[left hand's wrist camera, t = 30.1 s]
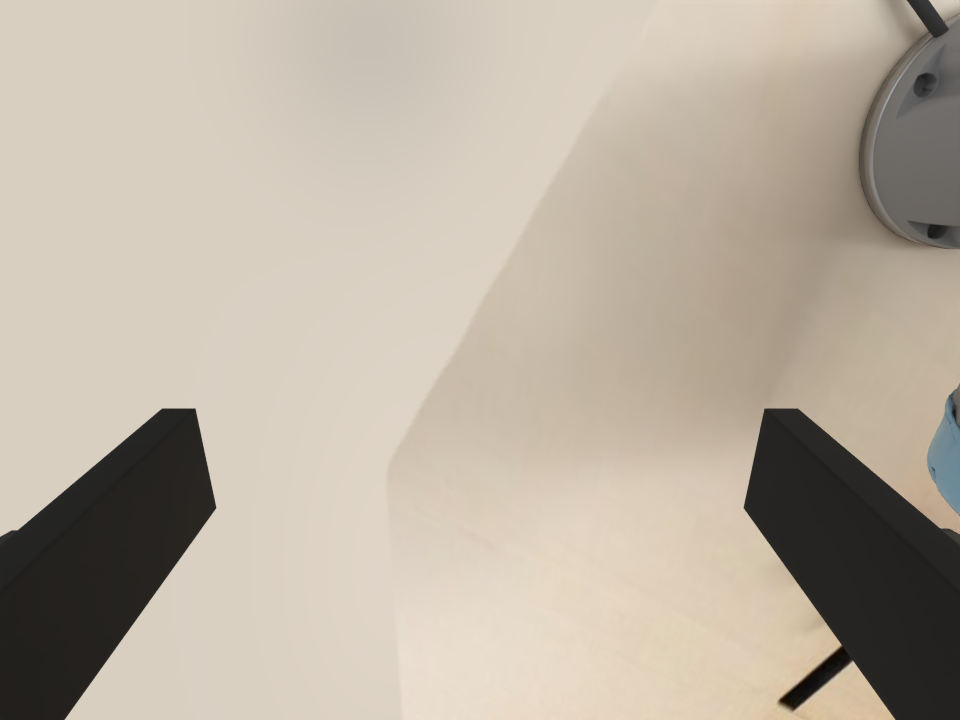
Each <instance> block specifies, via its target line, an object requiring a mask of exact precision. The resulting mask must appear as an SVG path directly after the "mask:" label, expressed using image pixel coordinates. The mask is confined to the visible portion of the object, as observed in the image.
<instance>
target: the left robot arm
mask: <svg viewBox="0 0 960 720" xmlns="http://www.w3.org/2000/svg"><path fill="white" fill-rule="evenodd" d="M907 1H908V2H909V4H910V5H911V6H912V8H913V9H914V11H915V12H916V13H917V15H918V16H919V18H920V19H921V20H922V22H923V23H924V25H925V26H926V27H927V29H928V30H929V33H928V34H927V35H925V36H924V37H923V38H922V39H920V40H919V41H918V42H917V43H916V44H915V45H914V46H913V47H912V48H911V49H910V50H909V51H908V52H907V53H906V54H905V55H904V56H903V57H902V58H901V60H900V61H899V62H898V63H897V65H896V66H895V67H894V68H893V70H892V71H891V73H890V74H889V75H888V77H887V78H886V80H885V81H884V83H883V85H882V86H881V88H880V90H879V92H878V93H877V95H876V98H875V100H874V102H873V104H872V106H871V108H870V111H869V114H868V116H867V119H866V123H865V126H864V129H863V134H862V139H861V145H860V159H859V166H860V177H861V182H862V187H863V190H864V193H865V196H866V198H867V201H868V203H869V205H870V207H871V208H872V210H873V212H874V213H875V215H876V216H877V217H878V218H879V220H880V221H881V222H882V223H883V224H884V225H885V226H886V227H888V228H889V229H890V230H892V231H893V232H894V233H896V234H898V235H899V236H901V237H903V238H906V239H908V240H910V241H914V242H917V243H920V244H925V245H929V246H933V247H939V248H946V249H960V14H957V15H955V16H954V17H952V18H950V19H948V20H947V21H945V22H944V21H943V20H942V18H941V17H940V16H939V14H938V13H937V11H936V10H935V8H934V7H933V6H932V4H931V3H930V1H929V0H907ZM927 464H928V469H929V472H930V474H931V477H932V479H933V481H934V482H935V483H936V485H937V488H938V491H939V492H940V494H941V495H942V496H943V498H944V499H945V500H946V502H947V503H948V504H949V505H950V506H951V507H952V508H953V509H954V511H955V512H956V513H957V514H958V515H959V516H960V384H959V386H958V388H957V389H955V390H954V391H953V392H952V393H951V395H949V397H948V399H947V400H946V404H945V414H944V417H943V419H942V421H941V423H940V426H939V428H938V430H937V432H936V434H935V436H934V438H933V440H932V442H931V444H930V447H929V450H928V455H927ZM215 509H216V504H215V499H214V495H213V490H212V485H211V480H210V476H209V471H208V466H207V461H206V457H205V452H204V447H203V443H202V438H201V433H200V428H199V423H198V419H197V414H196V409H161V410H160V411H159V412H158V413H156V414H155V415H154V416H153V417H152V418H150V419H149V420H148V421H147V422H146V423H145V424H143V425H142V426H141V427H140V428H139V429H137V430H136V431H135V432H134V433H133V434H132V435H130V436H129V437H128V438H127V439H126V440H124V441H123V442H122V443H121V444H120V445H118V446H117V447H116V448H115V449H114V450H113V451H111V452H110V453H109V454H108V455H107V456H105V457H104V458H103V459H102V460H101V461H99V462H98V463H97V464H96V465H95V466H94V467H92V468H91V469H90V470H89V471H88V472H86V473H85V474H84V475H83V476H82V477H81V478H79V479H78V480H77V481H76V482H75V483H73V484H72V485H71V486H70V487H69V488H68V489H66V490H65V491H64V492H63V493H62V494H60V495H59V496H58V497H57V498H56V499H54V500H53V501H52V502H51V503H50V504H49V505H47V506H46V507H45V508H44V509H43V510H41V511H40V512H39V513H38V514H37V515H35V516H34V517H33V518H32V519H31V520H30V521H28V522H27V523H26V524H25V525H24V526H22V527H21V528H20V529H19V530H15V531H14V530H12V531H10V532H8V533H6V534H5V535H3V536H1V537H0V720H65V718H66V717H67V715H68V714H69V713H70V711H71V710H72V708H73V707H74V706H75V704H76V703H77V702H78V700H79V699H80V697H81V696H82V695H83V693H84V692H85V690H86V689H87V688H88V686H89V685H90V683H91V682H92V681H93V679H94V678H95V676H96V675H97V674H98V672H99V671H100V669H101V668H102V667H103V665H104V664H105V662H106V661H107V660H108V658H109V657H110V655H111V654H112V653H113V651H114V650H115V648H116V647H117V646H118V644H119V643H120V642H121V640H122V639H123V637H124V636H125V635H126V633H127V632H128V630H129V629H130V628H131V626H132V625H133V623H134V622H135V621H136V619H137V618H138V616H139V615H140V614H141V612H142V611H143V610H144V608H145V607H146V605H147V604H148V603H149V601H150V600H151V598H152V597H153V596H154V594H155V593H156V591H157V590H158V589H159V587H160V586H161V584H162V583H163V582H164V580H165V579H166V577H167V576H168V575H169V573H170V572H171V570H172V569H173V568H174V566H175V565H176V564H177V562H178V561H179V559H180V558H181V557H182V555H183V554H184V552H185V551H186V550H187V548H188V547H189V545H190V544H191V543H192V541H193V540H194V538H195V537H196V536H197V534H198V533H199V531H200V530H201V529H202V527H203V526H204V524H205V523H206V522H207V520H208V519H209V518H210V516H211V515H212V513H213V512H214V511H215ZM744 509H745V511H746V512H747V513H748V515H749V516H750V518H751V519H752V520H753V522H754V523H755V524H756V526H757V527H758V529H759V530H760V531H761V533H762V534H763V536H764V537H765V538H766V540H767V541H768V543H769V544H770V545H771V547H772V548H773V550H774V551H775V552H776V554H777V555H778V557H779V558H780V559H781V561H782V562H783V564H784V565H785V566H786V568H787V569H788V570H789V572H790V573H791V575H792V576H793V577H794V579H795V580H796V582H797V583H798V584H799V586H800V587H801V589H802V590H803V591H804V593H805V594H806V596H807V597H808V598H809V600H810V601H811V603H812V604H813V605H814V607H815V608H816V610H817V611H818V612H819V614H820V615H821V616H822V618H823V619H824V621H825V622H826V623H827V625H828V626H829V628H830V629H831V630H832V632H833V633H834V635H835V636H836V637H837V639H838V640H839V642H840V643H841V644H842V646H843V647H844V649H845V650H846V651H847V653H848V654H849V656H850V657H851V658H852V660H853V661H854V662H855V664H856V665H857V667H858V668H859V669H860V671H861V672H862V674H863V675H864V676H865V678H866V679H867V681H868V682H869V683H870V685H871V686H872V688H873V689H874V690H875V692H876V693H877V695H878V696H879V697H880V699H881V700H882V702H883V703H884V704H885V706H886V707H887V708H888V710H889V711H890V713H891V714H892V715H893V717H894V718H895V720H960V534H958V533H956V532H954V531H952V530H951V529H940V528H939V527H938V526H936V525H935V524H934V523H933V522H932V521H930V520H929V519H928V518H927V517H926V516H925V515H923V514H922V513H921V512H920V511H919V510H917V509H916V508H915V507H914V506H913V505H911V504H910V503H909V502H908V501H907V500H906V499H904V498H903V497H902V496H901V495H900V494H898V493H897V492H896V491H895V490H894V489H893V488H891V487H890V486H889V485H888V484H887V483H885V482H884V481H883V480H882V479H881V478H879V477H878V476H877V475H876V474H875V473H874V472H872V471H871V470H870V469H869V468H868V467H866V466H865V465H864V464H863V463H862V462H861V461H859V460H858V459H857V458H856V457H855V456H853V455H852V454H851V453H850V452H849V451H847V450H846V449H845V448H844V447H843V446H842V445H840V444H839V443H838V442H837V441H836V440H834V439H833V438H832V437H831V436H830V435H829V434H827V433H826V432H825V431H824V430H823V429H821V428H820V427H819V426H818V425H817V424H815V423H814V422H813V421H812V420H811V419H810V418H808V417H807V416H806V415H805V414H804V413H802V412H801V411H800V410H799V409H764V414H763V419H762V423H761V428H760V433H759V438H758V442H757V447H756V452H755V457H754V461H753V466H752V471H751V476H750V480H749V485H748V490H747V495H746V499H745V504H744Z"/></svg>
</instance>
